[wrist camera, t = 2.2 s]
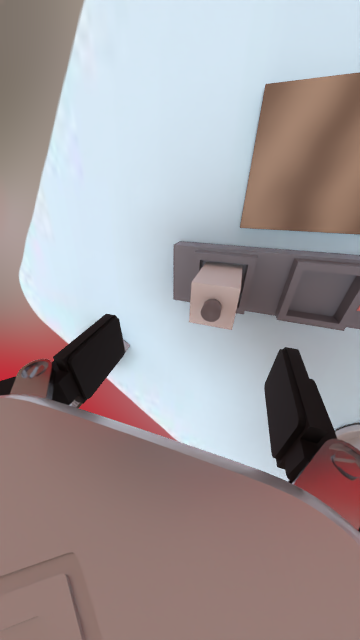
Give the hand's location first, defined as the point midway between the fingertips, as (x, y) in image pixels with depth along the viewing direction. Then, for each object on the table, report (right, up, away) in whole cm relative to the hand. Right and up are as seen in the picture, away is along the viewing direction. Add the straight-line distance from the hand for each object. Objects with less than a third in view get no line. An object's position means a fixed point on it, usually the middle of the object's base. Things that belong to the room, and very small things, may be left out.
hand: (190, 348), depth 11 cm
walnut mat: (+12, +15, +6) cm, 20 cm away
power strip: (+10, +7, +12) cm, 17 cm away
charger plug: (+4, +6, +11) cm, 13 cm away
